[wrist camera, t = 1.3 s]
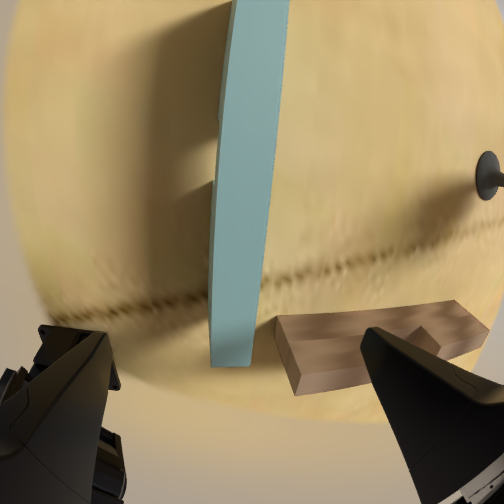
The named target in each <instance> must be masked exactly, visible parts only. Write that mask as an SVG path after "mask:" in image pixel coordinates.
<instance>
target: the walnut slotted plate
mask: <svg viewBox="0 0 504 504" xmlns="http://www.w3.org/2000/svg"><path fill="white" fill-rule="evenodd" d="M375 326H377V327H379V328H381V329H383V330H385V331H387V332H389V333H391V334H393V335H395V336H397V337H399V338H401V339H403V340H405V341H407V342H409V343H411V344H413V345H415V346H417V347H419V348H421V349H423V350H425V351H427V352H429V353H431V354H433V355H435V356H437V357H439V358H441V359H443V360H445V361H447V360H450V359H452V358H455V357H458V356H460V355H463V354H465V353H468V352H470V351H473V350H475V349H478V348H480V347H481V346H482V344H483V342H484V341H485V339H486V337H487V335H488V333H489V331H490V330H489V329H488V328H487V327H486V326H485V325H483V324H482V323H481V322H480V321H479V320H478V319H477V318H475V317H474V316H473V315H472V314H471V313H469V312H468V311H467V310H466V309H465V308H464V307H462V306H461V305H460V304H459V303H457V302H456V301H455V300H451V301H445V302H437V303H430V304H422V305H414V306H406V307H396V308H387V309H376V310H365V311H353V312H339V313H324V314H305V315H280V316H277V321H276V326H275V332H274V339H275V342H276V345H277V348H278V350H279V353H280V356H281V359H282V362H283V365H284V367H285V370H286V373H287V376H288V379H289V381H290V384H291V387H292V390H293V393H294V395H295V396H300V395H308V394H315V393H321V392H327V391H333V390H339V389H344V388H349V387H354V386H359V385H363V384H368V383H372V382H371V380H370V377H369V374H368V371H367V368H366V365H365V362H364V359H363V357H362V354H361V351H360V344H361V341H362V339H363V336H364V333H365V331H366V329H367V328H369V327H375Z"/></svg>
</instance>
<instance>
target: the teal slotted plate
mask: <svg viewBox="0 0 504 504" xmlns="http://www.w3.org/2000/svg"><path fill="white" fill-rule="evenodd" d="M288 12H289V0H232V6H231V12H230V19H229V26H228V33H227V40H226V48H225V56H224V64H223V72H222V81H221V90H220V100H219V110H218V120H219V132H218V143H217V156H216V169H215V180H213V184H212V201H211V219H210V241H209V269H208V322H209V341H210V358H211V367H247V366H250V364H251V356H252V349H253V341H254V333H255V325H256V317H257V309H258V300H259V292H260V284H261V276H262V267H263V259H264V250H265V241H266V233H267V224H268V215H269V206H270V197H271V188H272V178H273V169H274V160H275V150H276V140H277V131H278V121H279V111H280V100H281V90H282V80H283V69H284V58H285V47H286V36H287V24H288Z"/></svg>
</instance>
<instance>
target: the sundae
mask: <svg viewBox="0 0 504 504" xmlns="http://www.w3.org/2000/svg"><path fill="white" fill-rule="evenodd" d="M476 182H477V188H478V192H479V194H480V196H481V198H482V199H484V200H490V199H491V198H492V197H493V196H494V195H495V194H496V192H497V190H498V187H499V186H500V187H504V174H503V173H502V172H500V166H499V161H498V159H497V157H496V155H495V154H494V153H493V152H491V151H486V152H485V153H484V154H483V155H482V156H481V158H480V160H479V163H478V167H477V175H476Z"/></svg>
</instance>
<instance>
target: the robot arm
mask: <svg viewBox="0 0 504 504" xmlns="http://www.w3.org/2000/svg"><path fill="white" fill-rule="evenodd" d="M38 332H39V335H40V337H41V340H42V342H43V344H42V346H41V347H40V349H39V350H38V352H37V354H36V356H35V357H34V360H33V362H34V365H33V366H32V368H31V370H30V372H29V373H27V372H28V371H27V370H26V369H25V368H23V367H22V366H21V368H20V369H19V370H18V371H17V372H16V371H15V370H11V369H8V368H7V369H6V370H5V371H4V374H3V375H2V377H1V379H0V504H124V501H123V500H122V498H123V496H124V494H125V490H126V484H127V479H126V472H125V466H124V459H123V453H122V445H121V437H120V436H119V435H117V434H116V433H112V432H110V431H108V430H106V429H105V428H103V427H102V426H101V425H102V420H103V415H104V410H105V406H106V401H107V395H108V390H115V391H118V390H120V387H121V383H120V380H119V377H118V374H117V371H116V367H115V364H114V361H113V357H112V349H111V346H110V342H109V338H108V335H107V333H105V332H98V331H88V330H79V329H71V328H64V327H56V326H50V325H40V326H39V328H38ZM360 351H361V354H362V357H363V359H364V362H365V365H366V368H367V371H368V374H369V377H370V380H371V382H372V385H373V387H374V389H375V391H376V394H377V396H378V398H379V400H380V402H381V405H382V407H383V409H384V411H385V414H386V416H387V418H388V421H389V423H390V425H391V427H392V430H393V432H394V435H395V437H396V439H397V442H398V444H399V446H400V449H401V451H402V454H403V456H404V459H405V461H406V464H407V466H408V469H409V472H410V474H411V477H412V479H413V482H414V484H415V487H416V490H417V493H418V496H419V498H420V501H421V504H438V503H440V502H441V501H443V500H444V499H446V498H447V497H449V496H450V495H452V494H453V493H455V492H456V491H458V490H460V492H461V493H462V496H461V497H460V498H458V499H457V500H456V501H454V502H453V503H452V504H504V385H501V384H498V383H496V382H493V381H490V380H487V379H485V378H483V377H480V376H478V375H475V374H473V373H471V372H468V371H466V370H464V369H462V368H460V367H458V366H456V365H454V364H452V363H451V364H450V363H449V362H447V361H445V360H443V359H441V358H439V357H437V356H435V355H433V354H431V353H429V352H427V351H425V350H423V349H421V348H419V347H417V346H415V345H413V344H411V343H409V342H407V341H405V340H403V339H401V338H399V337H397V336H395V335H393V334H391V333H389V332H387V331H385V330H383V329H381V328H379V327H377V326H375V327H369V328H367V329H366V331H365V333H364V336H363V339H362V341H361V344H360Z"/></svg>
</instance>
